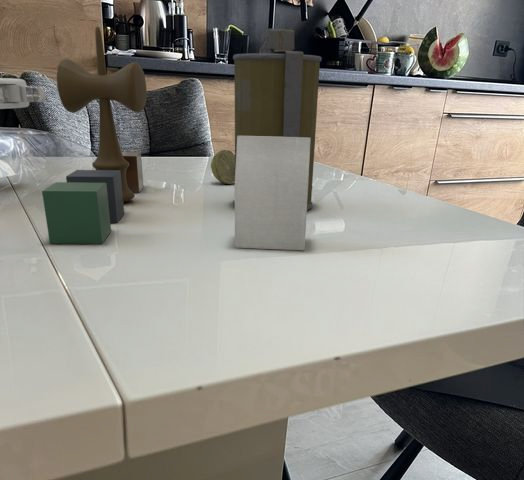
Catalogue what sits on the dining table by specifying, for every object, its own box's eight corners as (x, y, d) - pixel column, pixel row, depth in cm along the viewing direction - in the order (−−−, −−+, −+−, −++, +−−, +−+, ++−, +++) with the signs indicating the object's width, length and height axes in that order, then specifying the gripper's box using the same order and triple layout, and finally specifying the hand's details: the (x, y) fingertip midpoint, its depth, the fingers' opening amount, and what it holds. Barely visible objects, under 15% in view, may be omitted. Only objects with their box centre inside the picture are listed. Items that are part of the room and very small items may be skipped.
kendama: (89, 195, 75) (70, 28, 67) (156, 199, 74) (146, 29, 66) (69, 204, 70) (45, 23, 61) (141, 207, 69) (127, 24, 60)
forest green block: (49, 243, 53) (41, 190, 51) (62, 231, 57) (55, 182, 55) (102, 243, 53) (96, 191, 51) (111, 231, 58) (106, 182, 56)
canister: (224, 199, 75) (223, 31, 66) (295, 196, 78) (303, 35, 69) (247, 216, 66) (249, 23, 57) (326, 212, 69) (340, 28, 60)
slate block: (72, 222, 61) (65, 176, 59) (82, 213, 65) (76, 169, 63) (117, 222, 61) (113, 176, 59) (124, 213, 66) (120, 170, 64)
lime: (242, 181, 89) (242, 149, 87) (234, 186, 85) (234, 152, 83) (216, 180, 90) (216, 148, 88) (207, 184, 86) (206, 151, 83)
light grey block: (304, 250, 53) (310, 139, 48) (234, 247, 53) (234, 137, 49) (305, 240, 56) (310, 136, 52) (239, 238, 56) (239, 134, 52)
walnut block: (103, 192, 78) (100, 155, 76) (110, 186, 82) (106, 151, 80) (139, 192, 78) (136, 155, 76) (143, 186, 83) (141, 152, 81)
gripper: (-23, 115, 80) (66, 118, 78) (-136, 123, 62) (-24, 127, 60) (-32, 67, 77) (59, 68, 75) (-153, 60, 59) (-36, 62, 57)
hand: (22, 94), depth 67 cm, fingers open, 8 cm apart
